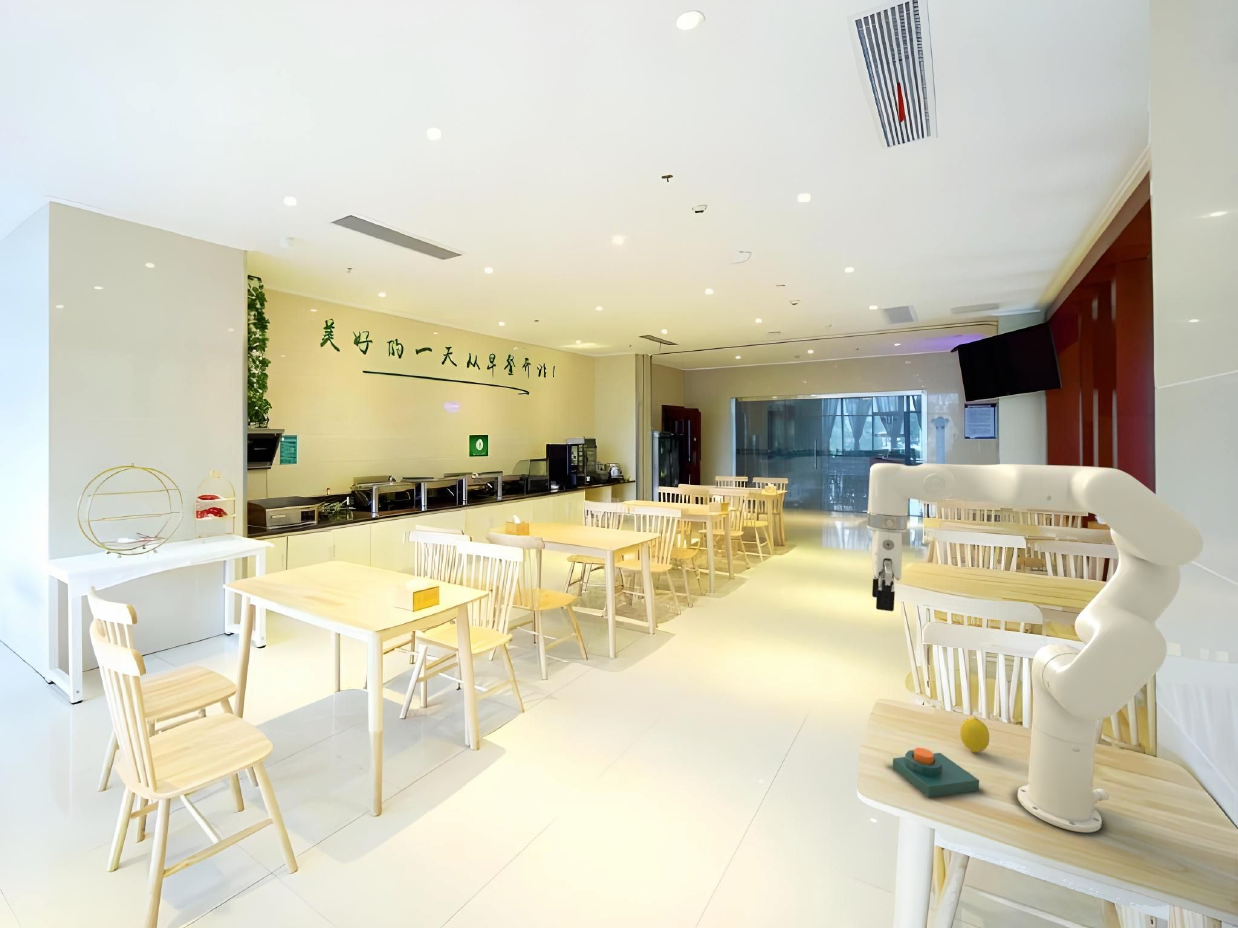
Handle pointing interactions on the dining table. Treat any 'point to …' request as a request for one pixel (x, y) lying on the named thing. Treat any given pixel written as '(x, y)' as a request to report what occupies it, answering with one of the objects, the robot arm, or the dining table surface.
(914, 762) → the button base
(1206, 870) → the dining table surface
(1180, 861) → the dining table surface
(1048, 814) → the robot arm
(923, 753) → the orange button cap
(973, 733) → the lemon
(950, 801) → the dining table surface
